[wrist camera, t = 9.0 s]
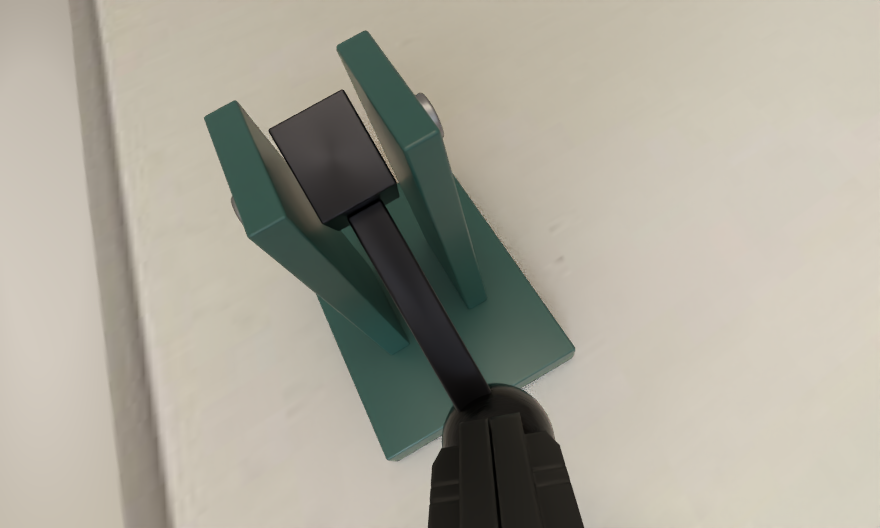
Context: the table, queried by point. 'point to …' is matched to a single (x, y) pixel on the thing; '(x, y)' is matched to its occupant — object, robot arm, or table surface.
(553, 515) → the robot arm
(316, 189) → the control lever
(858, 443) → the table surface
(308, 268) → the lever base
